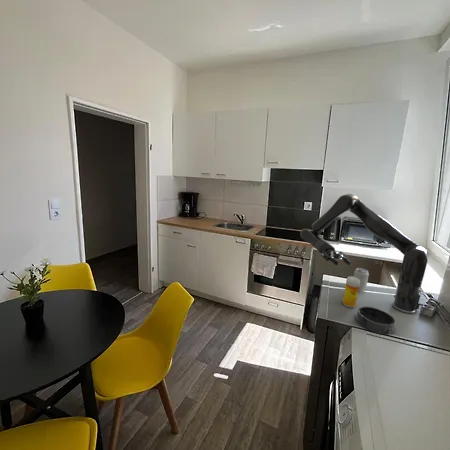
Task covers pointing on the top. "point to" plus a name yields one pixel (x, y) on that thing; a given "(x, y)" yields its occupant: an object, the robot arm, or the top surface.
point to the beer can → (351, 291)
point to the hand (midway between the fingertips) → (343, 263)
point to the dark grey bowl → (375, 320)
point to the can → (362, 277)
